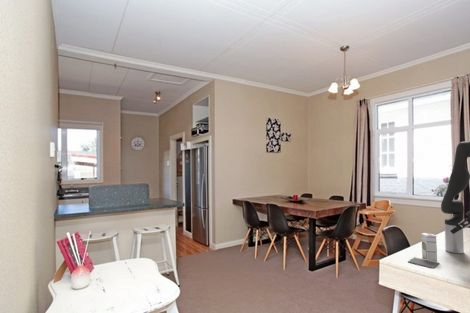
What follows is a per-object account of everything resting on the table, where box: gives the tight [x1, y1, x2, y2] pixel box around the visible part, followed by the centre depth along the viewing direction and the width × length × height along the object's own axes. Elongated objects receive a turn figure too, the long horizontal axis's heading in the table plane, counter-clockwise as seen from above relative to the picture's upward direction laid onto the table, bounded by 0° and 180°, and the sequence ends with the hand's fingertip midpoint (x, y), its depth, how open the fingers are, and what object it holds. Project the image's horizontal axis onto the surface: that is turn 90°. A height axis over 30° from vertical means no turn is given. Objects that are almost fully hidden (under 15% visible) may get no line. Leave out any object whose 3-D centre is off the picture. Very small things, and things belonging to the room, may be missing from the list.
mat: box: [407, 256, 441, 269], centre depth 152 cm, size 12×12×1 cm
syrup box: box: [421, 232, 438, 262], centre depth 160 cm, size 6×6×14 cm
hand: (453, 231), depth 151 cm, fingers open, 8 cm apart
